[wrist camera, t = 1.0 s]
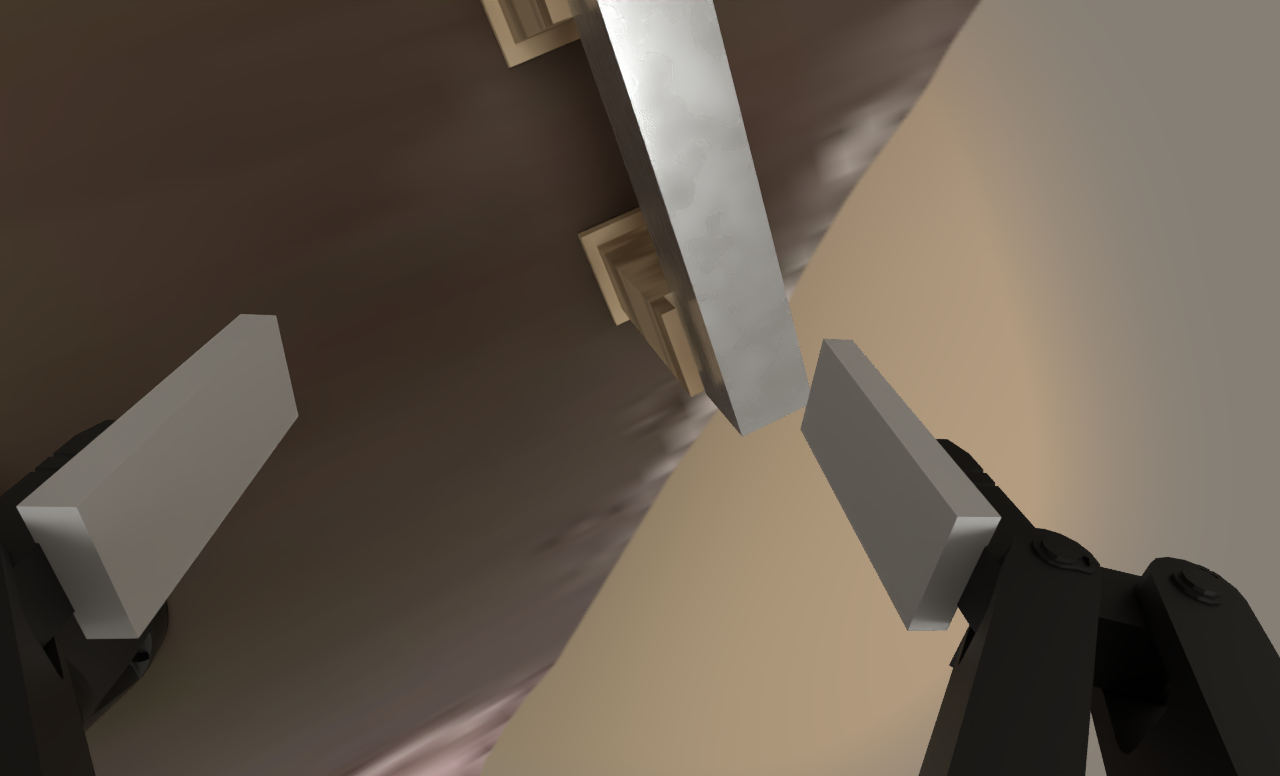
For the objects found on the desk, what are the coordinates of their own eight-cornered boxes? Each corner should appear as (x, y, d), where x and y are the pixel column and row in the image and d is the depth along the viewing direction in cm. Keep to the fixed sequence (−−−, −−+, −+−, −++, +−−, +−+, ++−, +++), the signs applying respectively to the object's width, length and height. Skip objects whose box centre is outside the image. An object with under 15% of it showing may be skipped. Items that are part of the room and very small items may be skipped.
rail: (706, 393, 36) (742, 436, 31) (503, -180, 23) (517, -242, 18) (768, 364, 36) (813, 402, 32) (603, -219, 23) (640, -288, 19)
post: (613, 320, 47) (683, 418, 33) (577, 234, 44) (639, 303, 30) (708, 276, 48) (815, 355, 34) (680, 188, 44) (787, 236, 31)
